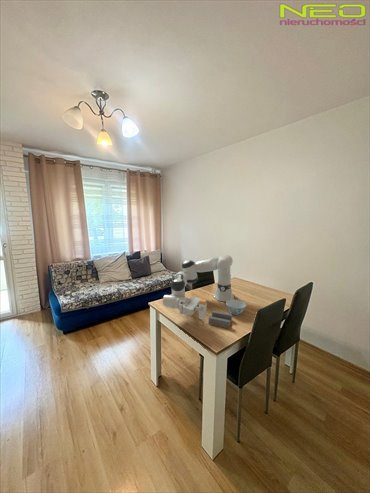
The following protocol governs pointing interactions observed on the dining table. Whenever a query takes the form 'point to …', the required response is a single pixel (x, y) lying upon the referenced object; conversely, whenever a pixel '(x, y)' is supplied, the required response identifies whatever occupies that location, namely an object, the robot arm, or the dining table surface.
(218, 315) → the duct block
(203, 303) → the plug post
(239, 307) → the chinaware
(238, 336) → the dining table surface
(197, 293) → the dining table surface
